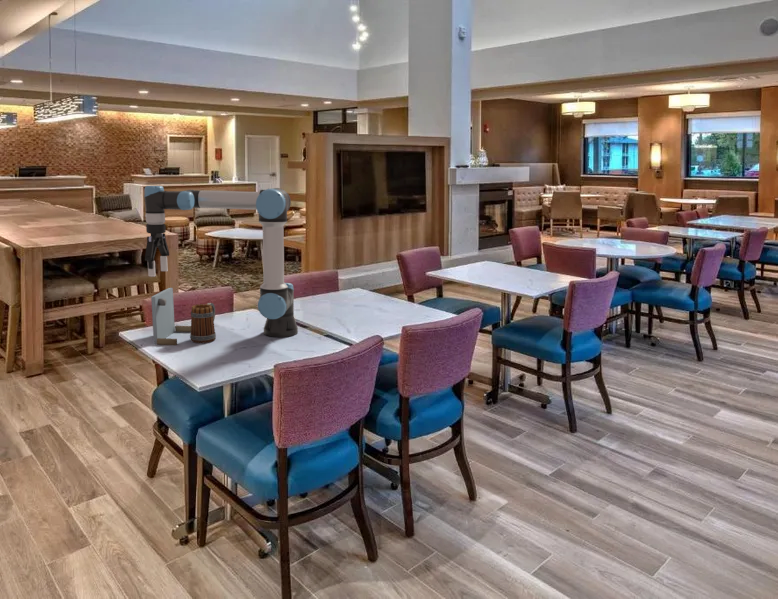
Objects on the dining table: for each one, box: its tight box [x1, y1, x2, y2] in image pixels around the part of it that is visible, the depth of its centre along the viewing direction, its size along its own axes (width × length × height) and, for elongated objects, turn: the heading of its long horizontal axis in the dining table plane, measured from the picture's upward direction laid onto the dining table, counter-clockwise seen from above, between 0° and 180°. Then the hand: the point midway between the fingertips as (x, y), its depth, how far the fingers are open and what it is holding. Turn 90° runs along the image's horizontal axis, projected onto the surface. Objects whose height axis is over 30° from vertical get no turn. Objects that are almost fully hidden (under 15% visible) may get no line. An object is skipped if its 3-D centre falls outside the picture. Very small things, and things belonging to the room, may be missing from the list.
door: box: [150, 287, 176, 345], centre depth 269 cm, size 4×20×20 cm, turn 179°
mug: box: [189, 302, 217, 344], centre depth 270 cm, size 16×11×15 cm
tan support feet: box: [156, 325, 191, 346], centre depth 271 cm, size 8×22×2 cm, turn 179°
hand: (158, 273), depth 265 cm, fingers open, 13 cm apart
